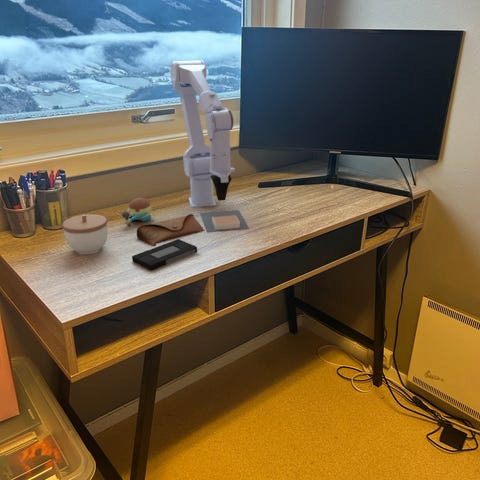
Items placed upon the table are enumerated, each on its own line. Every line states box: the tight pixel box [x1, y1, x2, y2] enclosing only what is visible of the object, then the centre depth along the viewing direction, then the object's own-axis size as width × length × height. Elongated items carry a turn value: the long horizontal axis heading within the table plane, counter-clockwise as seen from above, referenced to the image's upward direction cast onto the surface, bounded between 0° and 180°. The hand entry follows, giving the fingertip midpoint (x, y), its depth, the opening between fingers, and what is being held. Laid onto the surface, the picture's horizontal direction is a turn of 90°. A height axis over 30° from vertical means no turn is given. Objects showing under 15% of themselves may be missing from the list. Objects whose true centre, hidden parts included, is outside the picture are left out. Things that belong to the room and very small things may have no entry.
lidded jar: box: [61, 213, 108, 256], centre depth 121 cm, size 11×11×9 cm
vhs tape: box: [131, 238, 198, 272], centre depth 118 cm, size 8×14×2 cm, turn 136°
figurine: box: [121, 197, 152, 227], centre depth 140 cm, size 7×10×7 cm
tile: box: [212, 215, 240, 230], centre depth 136 cm, size 2×7×6 cm
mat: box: [199, 209, 250, 233], centre depth 140 cm, size 16×12×1 cm
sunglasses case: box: [136, 213, 206, 247], centre depth 131 cm, size 18×7×7 cm
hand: (221, 199), depth 140 cm, fingers closed
